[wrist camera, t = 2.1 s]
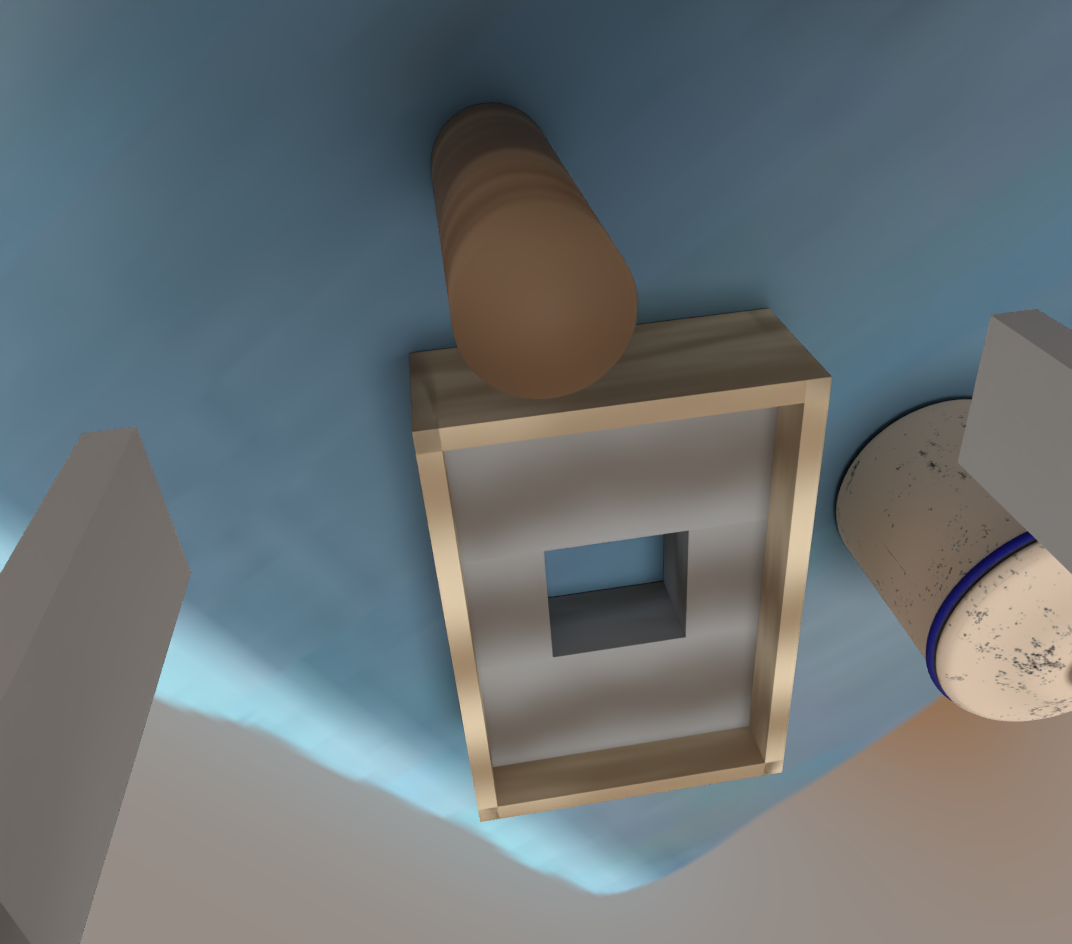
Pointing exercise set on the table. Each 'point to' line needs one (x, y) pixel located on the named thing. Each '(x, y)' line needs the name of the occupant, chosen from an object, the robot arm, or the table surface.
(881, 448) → the teacup with lid
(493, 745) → the box with hole
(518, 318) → the peg
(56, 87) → the table surface
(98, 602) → the robot arm
